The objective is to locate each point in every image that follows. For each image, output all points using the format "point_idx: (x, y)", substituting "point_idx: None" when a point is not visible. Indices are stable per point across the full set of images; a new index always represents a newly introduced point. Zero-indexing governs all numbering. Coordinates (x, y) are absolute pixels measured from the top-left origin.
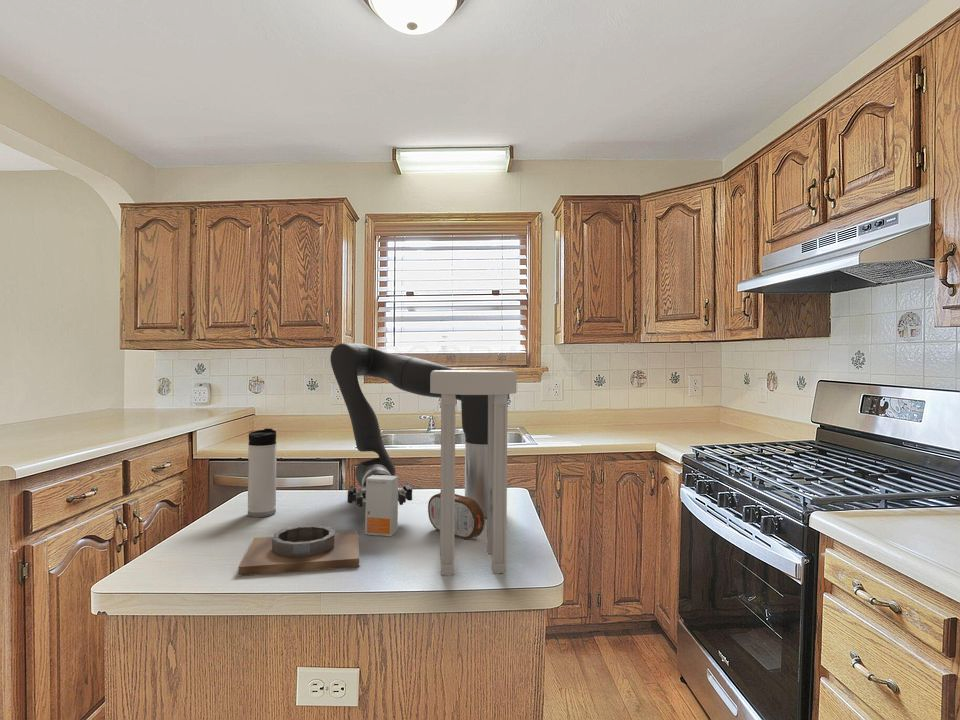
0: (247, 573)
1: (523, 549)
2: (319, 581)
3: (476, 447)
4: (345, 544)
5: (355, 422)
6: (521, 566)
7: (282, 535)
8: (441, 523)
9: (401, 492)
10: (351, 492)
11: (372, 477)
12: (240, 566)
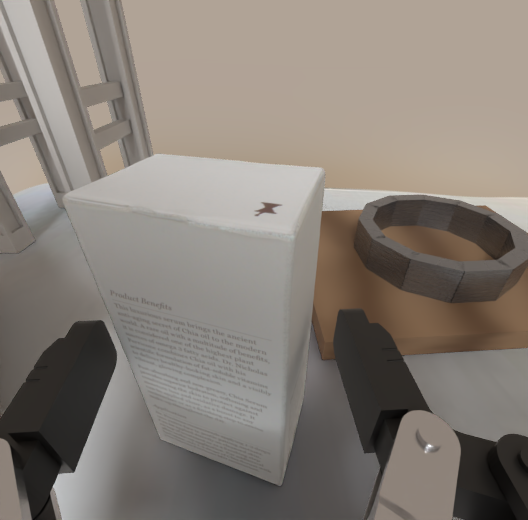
0: None
1: None
2: (337, 202)
3: None
4: (333, 259)
5: None
6: (25, 211)
7: (508, 244)
8: (145, 120)
9: (40, 387)
10: (499, 439)
11: (282, 174)
12: (483, 206)
